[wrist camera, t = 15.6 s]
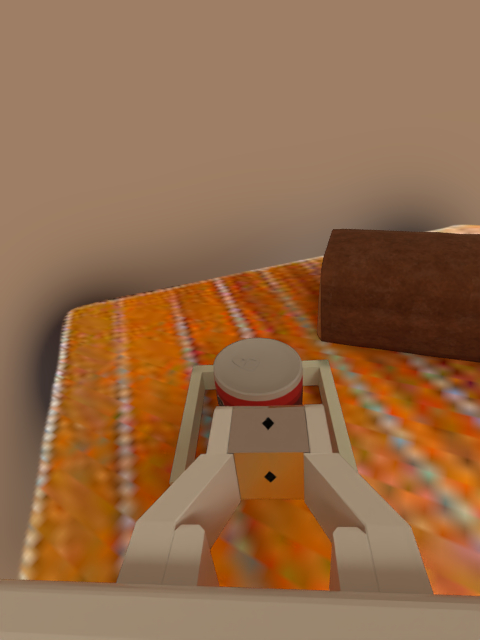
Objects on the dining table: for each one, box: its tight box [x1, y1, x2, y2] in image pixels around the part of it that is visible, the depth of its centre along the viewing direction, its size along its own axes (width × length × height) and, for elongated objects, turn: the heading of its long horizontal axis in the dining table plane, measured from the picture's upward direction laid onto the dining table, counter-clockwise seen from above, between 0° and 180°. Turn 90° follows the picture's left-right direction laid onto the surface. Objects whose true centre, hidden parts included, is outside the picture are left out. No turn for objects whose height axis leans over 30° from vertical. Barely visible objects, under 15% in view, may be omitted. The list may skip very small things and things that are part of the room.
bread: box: [317, 229, 480, 362], centre depth 46 cm, size 16×39×13 cm, turn 71°
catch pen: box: [169, 360, 358, 486], centre depth 37 cm, size 16×15×3 cm
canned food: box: [213, 338, 303, 406], centre depth 34 cm, size 8×8×11 cm
